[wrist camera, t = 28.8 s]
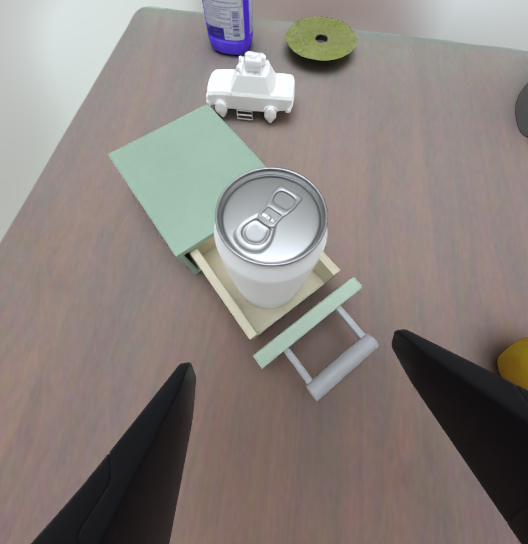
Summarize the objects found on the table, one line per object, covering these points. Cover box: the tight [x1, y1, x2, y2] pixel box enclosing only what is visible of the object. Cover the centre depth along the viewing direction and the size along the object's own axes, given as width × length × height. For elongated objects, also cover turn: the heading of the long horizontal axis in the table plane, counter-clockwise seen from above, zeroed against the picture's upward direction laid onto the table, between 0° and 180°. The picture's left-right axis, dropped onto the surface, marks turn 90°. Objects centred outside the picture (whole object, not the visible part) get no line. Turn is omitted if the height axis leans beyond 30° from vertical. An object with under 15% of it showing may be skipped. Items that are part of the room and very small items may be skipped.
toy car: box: [206, 51, 295, 123], centre depth 28 cm, size 6×12×7 cm, turn 82°
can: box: [214, 167, 328, 309], centre depth 16 cm, size 6×6×12 cm
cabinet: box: [108, 104, 266, 275], centre depth 24 cm, size 14×12×6 cm
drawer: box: [189, 236, 379, 401], centre depth 20 cm, size 18×11×4 cm, turn 37°
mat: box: [286, 17, 357, 61], centre depth 35 cm, size 11×11×2 cm
